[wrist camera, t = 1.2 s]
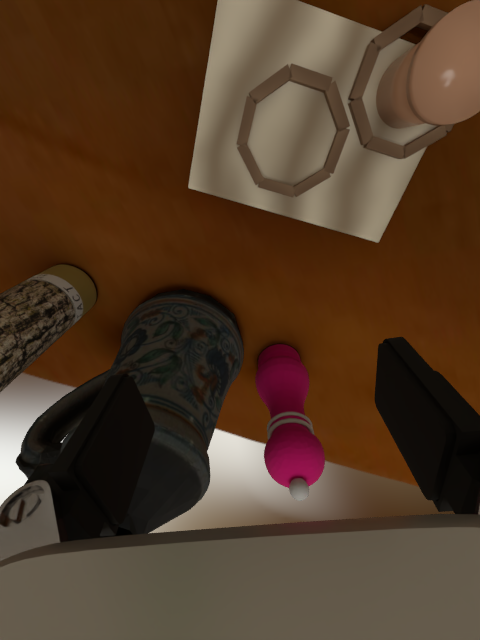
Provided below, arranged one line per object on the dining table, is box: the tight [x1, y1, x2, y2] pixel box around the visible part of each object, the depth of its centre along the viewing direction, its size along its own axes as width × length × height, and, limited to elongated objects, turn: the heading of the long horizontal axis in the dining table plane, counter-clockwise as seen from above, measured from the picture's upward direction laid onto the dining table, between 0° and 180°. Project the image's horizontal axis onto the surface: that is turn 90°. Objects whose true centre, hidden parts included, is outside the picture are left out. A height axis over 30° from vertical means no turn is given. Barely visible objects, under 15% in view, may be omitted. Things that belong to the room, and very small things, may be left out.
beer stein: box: [16, 289, 244, 538], centre depth 30 cm, size 16×19×25 cm
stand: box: [188, 0, 454, 243], centre depth 27 cm, size 23×18×2 cm
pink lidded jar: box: [376, 0, 480, 129], centre depth 22 cm, size 6×6×8 cm
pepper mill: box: [256, 344, 325, 501], centre depth 34 cm, size 7×7×20 cm
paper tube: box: [0, 265, 97, 392], centre depth 26 cm, size 7×7×25 cm
